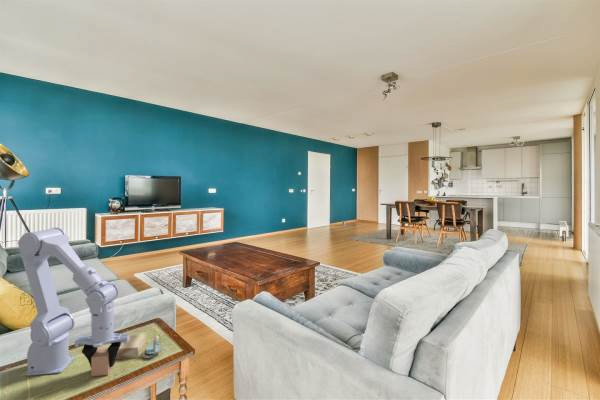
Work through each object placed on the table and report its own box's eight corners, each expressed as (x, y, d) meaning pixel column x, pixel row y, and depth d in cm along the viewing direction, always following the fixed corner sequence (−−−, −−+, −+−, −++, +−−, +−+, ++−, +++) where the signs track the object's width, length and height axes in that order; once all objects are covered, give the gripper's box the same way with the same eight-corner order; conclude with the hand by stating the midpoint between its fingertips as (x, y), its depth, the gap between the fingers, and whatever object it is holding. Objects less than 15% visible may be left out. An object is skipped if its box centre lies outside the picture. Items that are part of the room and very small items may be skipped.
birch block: (111, 359, 95) (111, 349, 95) (121, 345, 103) (121, 336, 103) (137, 357, 97) (137, 347, 97) (145, 343, 105) (145, 334, 104)
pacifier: (141, 362, 95) (161, 357, 98) (140, 344, 94) (160, 340, 97) (142, 349, 102) (161, 345, 104) (142, 333, 101) (161, 329, 104)
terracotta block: (91, 376, 87) (91, 357, 86) (98, 366, 91) (98, 348, 91) (108, 374, 88) (107, 356, 87) (114, 365, 92) (114, 347, 92)
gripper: (68, 332, 83) (69, 376, 84) (123, 329, 86) (123, 371, 87) (81, 320, 90) (82, 361, 91) (132, 317, 93) (132, 357, 94)
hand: (103, 365), depth 89 cm, fingers closed on terracotta block, 4 cm apart
